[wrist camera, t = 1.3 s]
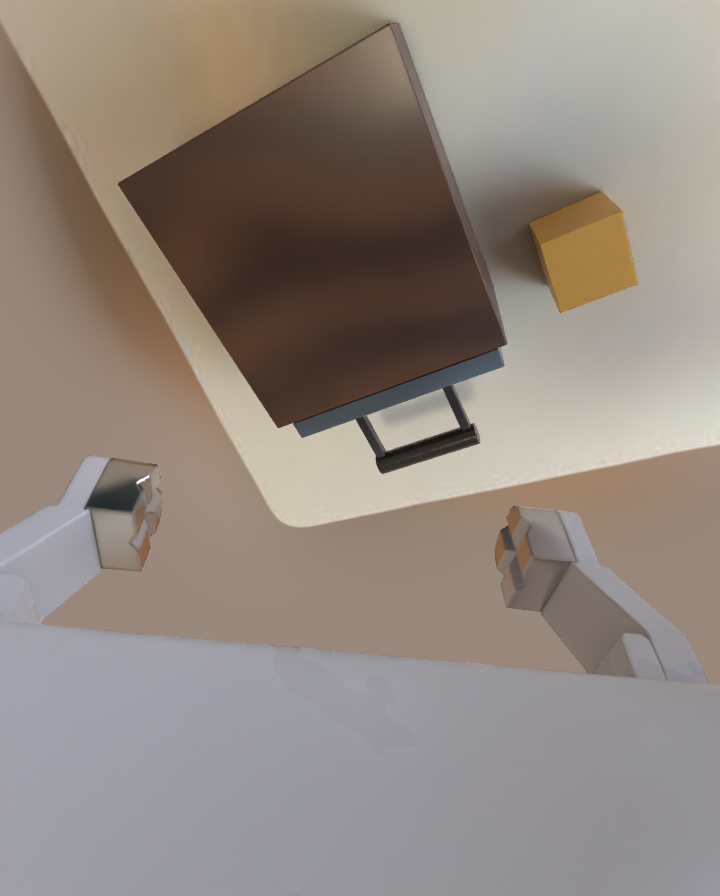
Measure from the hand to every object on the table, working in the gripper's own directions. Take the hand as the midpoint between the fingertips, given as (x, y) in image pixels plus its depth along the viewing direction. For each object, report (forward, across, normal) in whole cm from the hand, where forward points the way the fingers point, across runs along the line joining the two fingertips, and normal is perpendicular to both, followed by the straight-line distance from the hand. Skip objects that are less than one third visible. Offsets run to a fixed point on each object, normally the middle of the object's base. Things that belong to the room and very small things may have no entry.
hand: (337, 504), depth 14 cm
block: (+26, -14, +1) cm, 30 cm away
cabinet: (+28, 0, +3) cm, 28 cm away
